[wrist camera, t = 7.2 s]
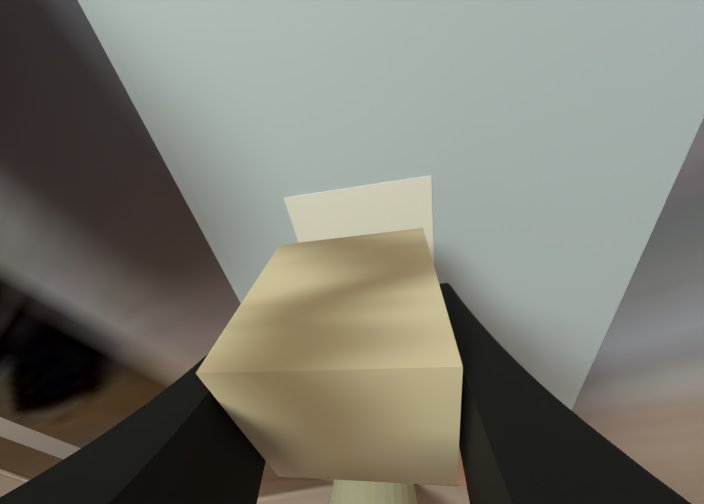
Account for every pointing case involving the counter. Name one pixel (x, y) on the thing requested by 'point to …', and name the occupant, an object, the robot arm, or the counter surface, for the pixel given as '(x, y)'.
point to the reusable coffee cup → (372, 493)
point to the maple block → (345, 363)
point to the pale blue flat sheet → (429, 140)
